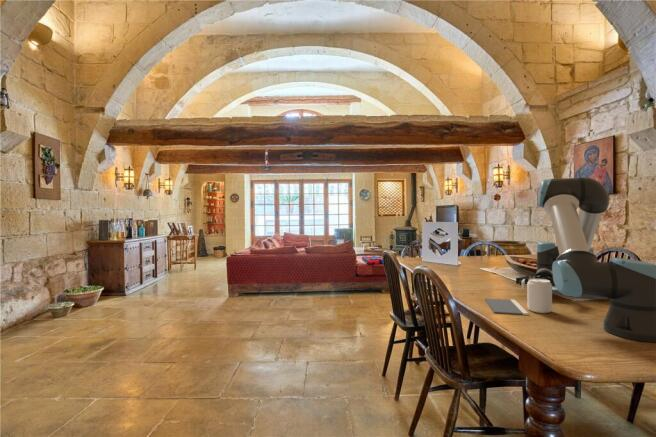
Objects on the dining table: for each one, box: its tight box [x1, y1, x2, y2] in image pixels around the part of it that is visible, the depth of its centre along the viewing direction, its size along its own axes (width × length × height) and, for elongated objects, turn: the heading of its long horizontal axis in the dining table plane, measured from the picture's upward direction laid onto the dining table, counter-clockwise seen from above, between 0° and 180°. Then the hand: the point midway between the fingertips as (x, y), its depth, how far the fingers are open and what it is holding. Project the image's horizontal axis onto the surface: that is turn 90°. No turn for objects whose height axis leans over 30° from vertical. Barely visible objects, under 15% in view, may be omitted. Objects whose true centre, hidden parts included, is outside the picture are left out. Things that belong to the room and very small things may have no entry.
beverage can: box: [526, 279, 553, 314], centre depth 130 cm, size 8×8×12 cm
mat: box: [484, 298, 529, 316], centre depth 136 cm, size 20×12×1 cm, turn 164°
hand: (541, 286), depth 137 cm, fingers open, 13 cm apart
